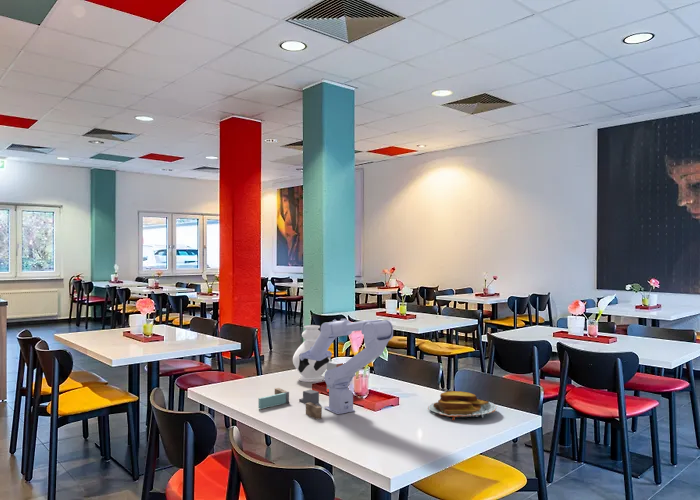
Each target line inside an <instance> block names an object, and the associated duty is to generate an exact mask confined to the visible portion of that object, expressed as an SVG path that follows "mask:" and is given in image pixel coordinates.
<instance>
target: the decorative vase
mask: <svg viewBox="0 0 700 500" xmlns="http://www.w3.org/2000/svg"><path fill="white" fill-rule="evenodd" d="M303 329H305V330H303V331H302V333H301V338H303V339H304V341H303V342H302V343H301V344H300V345H299V346H298V347H297V349H296V350H295V352H294V353H293V356H292V364H293V366H294V368H295V369H296V370H297V371H298V373H299V374H300V376H299V377H298V381H300V382H303V383H317V382H318V383H319V382H322V380H323V381H325V378H324V376H325V375H323V374H325V372H326V371H327V363H326V364H324V365H323V366H322V367H320V368H319V369H318V370H317V371H316V370H315V369H314V364H315V362H316V360H311V359H308V362H309V364H310V365H308V366H307V367H306V368H305V369H304V370H303V372H301V373H300V371H299V370H298V368H299V362H300V359H299V355H300V354H301V353H305V352H306V351H308V350H310V347H313V345H314V344H315V342H316V340H317V338H318V337H319V335H320V333H321V330H320V329H321V325H317V324H308V325H304V326H303ZM331 358H332V357H330V358H328V359H329V362H332V360H331Z"/></svg>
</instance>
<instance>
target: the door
mask: <svg viewBox="0 0 700 500" xmlns="http://www.w3.org/2000/svg"><path fill="white" fill-rule="evenodd" d="M289 403H290V391H287V392H285V393H281V394H276V395H275V394H272V395H267V396H262V397H258V409H259V410H262V409H266V408H269V407H274V406H278V405H279V406H280V405H284V404H289Z"/></svg>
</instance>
